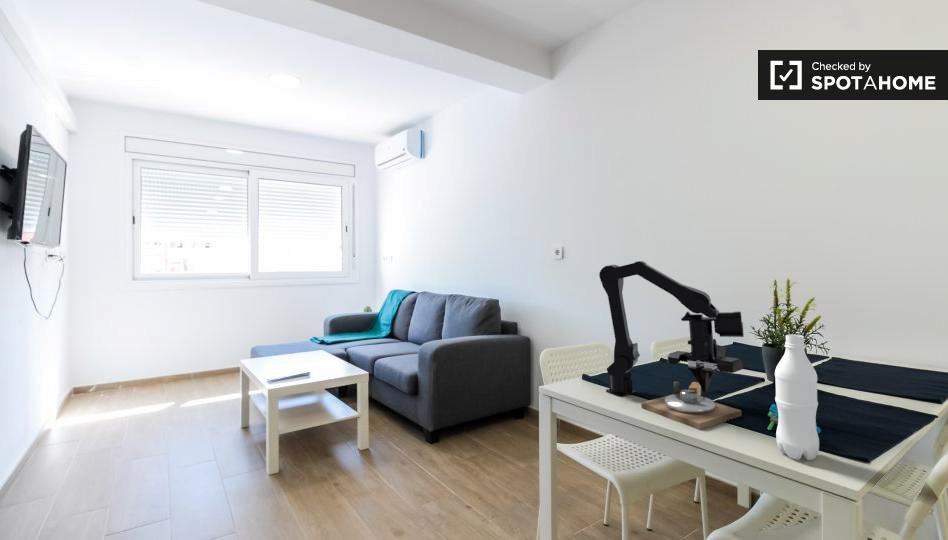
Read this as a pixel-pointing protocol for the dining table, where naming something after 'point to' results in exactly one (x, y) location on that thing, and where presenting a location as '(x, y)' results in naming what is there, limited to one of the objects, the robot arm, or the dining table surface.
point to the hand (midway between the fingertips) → (705, 391)
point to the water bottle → (796, 401)
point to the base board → (693, 420)
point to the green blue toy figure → (774, 417)
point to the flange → (690, 401)
